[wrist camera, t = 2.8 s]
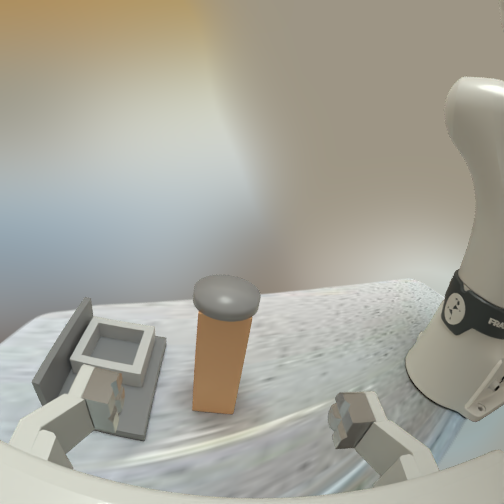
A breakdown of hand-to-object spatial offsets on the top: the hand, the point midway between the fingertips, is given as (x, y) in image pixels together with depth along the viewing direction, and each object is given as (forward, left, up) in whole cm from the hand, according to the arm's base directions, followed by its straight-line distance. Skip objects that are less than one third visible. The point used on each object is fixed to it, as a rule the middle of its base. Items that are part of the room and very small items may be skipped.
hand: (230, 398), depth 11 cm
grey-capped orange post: (0, -14, -17) cm, 22 cm away
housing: (+11, -14, -17) cm, 24 cm away
